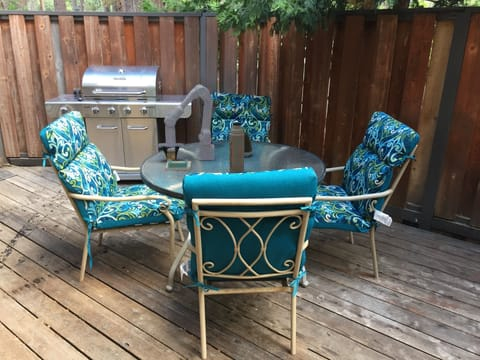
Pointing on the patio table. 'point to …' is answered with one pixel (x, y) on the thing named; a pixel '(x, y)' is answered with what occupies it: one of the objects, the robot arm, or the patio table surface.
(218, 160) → the patio table surface
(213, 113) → the solar garden light
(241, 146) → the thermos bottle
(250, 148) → the pump dispenser
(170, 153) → the cardboard box
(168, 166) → the dock
